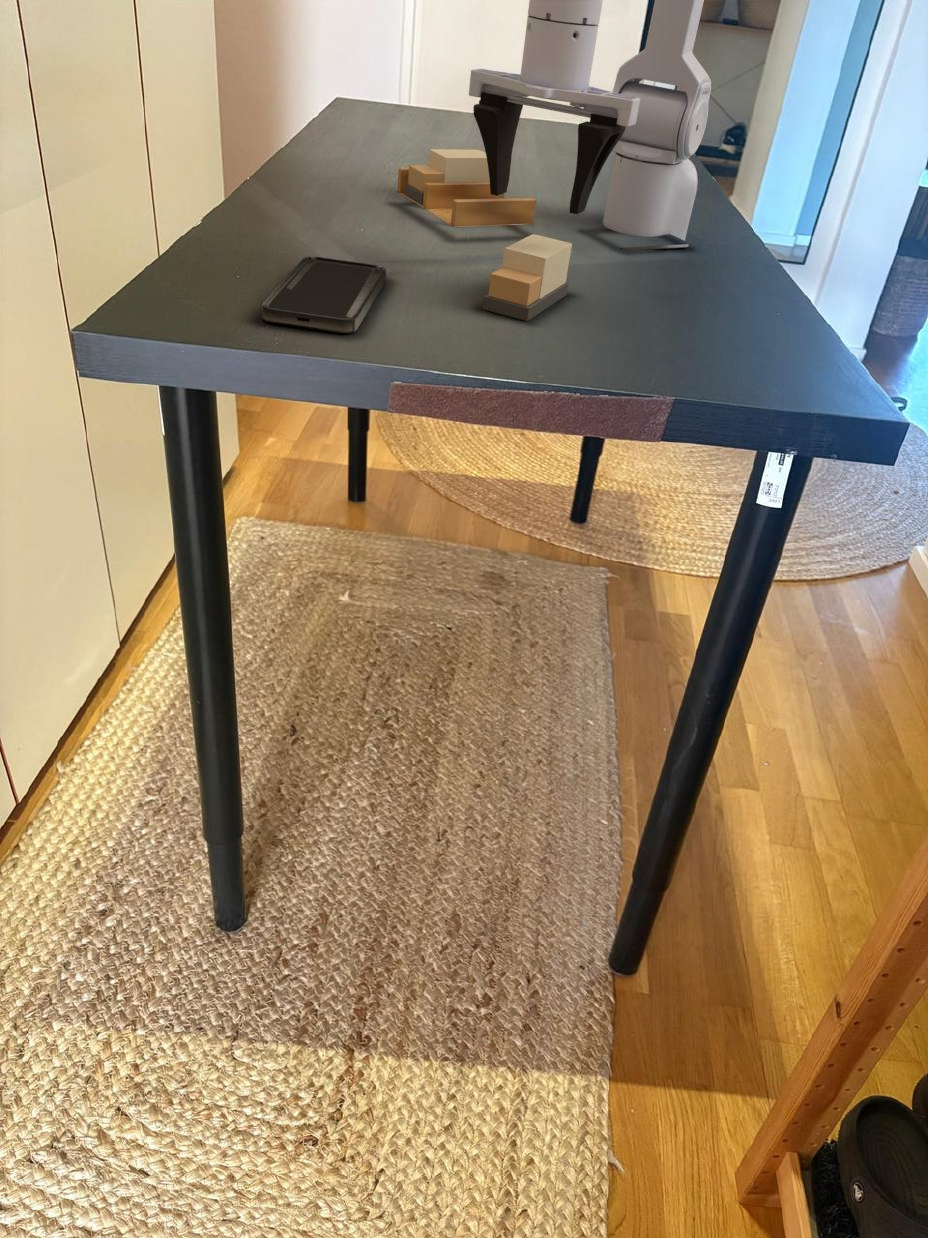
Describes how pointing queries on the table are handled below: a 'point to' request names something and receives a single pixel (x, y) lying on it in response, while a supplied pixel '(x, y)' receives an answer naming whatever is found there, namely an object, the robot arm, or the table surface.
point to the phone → (325, 295)
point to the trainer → (529, 277)
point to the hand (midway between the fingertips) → (537, 202)
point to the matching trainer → (447, 170)
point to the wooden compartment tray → (471, 203)
